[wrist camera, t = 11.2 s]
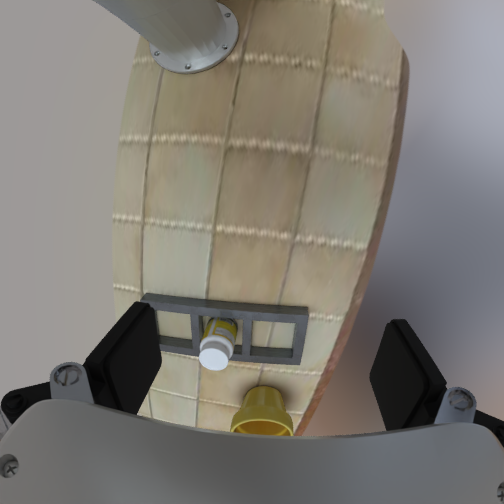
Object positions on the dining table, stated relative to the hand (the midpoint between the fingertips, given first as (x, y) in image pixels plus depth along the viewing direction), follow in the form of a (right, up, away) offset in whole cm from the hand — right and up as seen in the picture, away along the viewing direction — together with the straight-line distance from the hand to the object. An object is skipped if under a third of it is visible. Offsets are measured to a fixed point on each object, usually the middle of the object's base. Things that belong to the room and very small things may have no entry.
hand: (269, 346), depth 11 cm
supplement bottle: (-5, -8, +33) cm, 34 cm away
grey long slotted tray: (-5, -8, +33) cm, 34 cm away
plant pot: (+2, -23, +38) cm, 44 cm away
